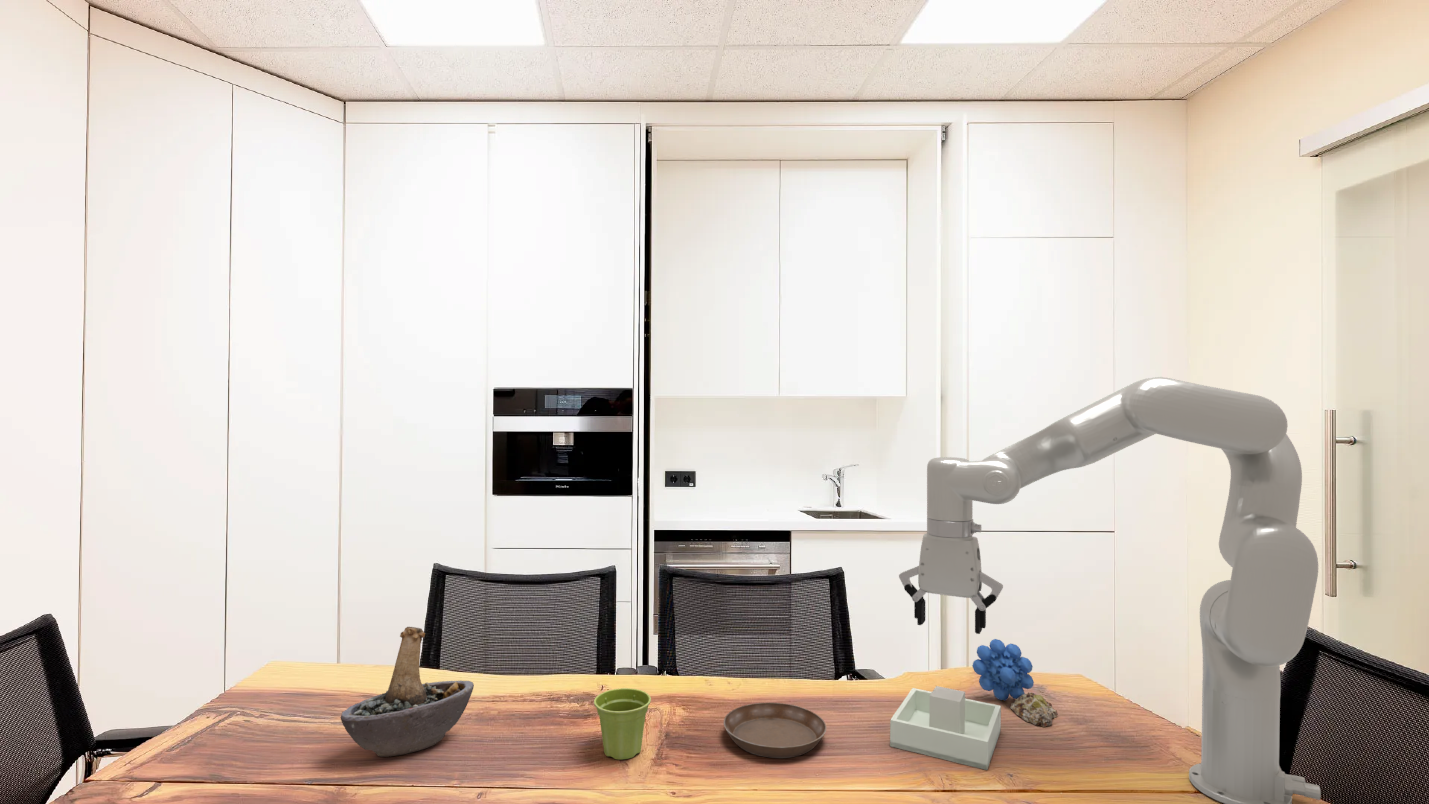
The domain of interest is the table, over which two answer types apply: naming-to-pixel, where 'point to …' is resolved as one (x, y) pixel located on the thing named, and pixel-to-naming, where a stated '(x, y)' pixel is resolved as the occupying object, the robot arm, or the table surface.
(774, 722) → the plant saucer
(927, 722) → the sage bin
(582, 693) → the table surface
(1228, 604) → the robot arm
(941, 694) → the stone block
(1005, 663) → the blue knobby lump
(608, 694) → the plant pot
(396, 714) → the planter
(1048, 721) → the mineral rock
